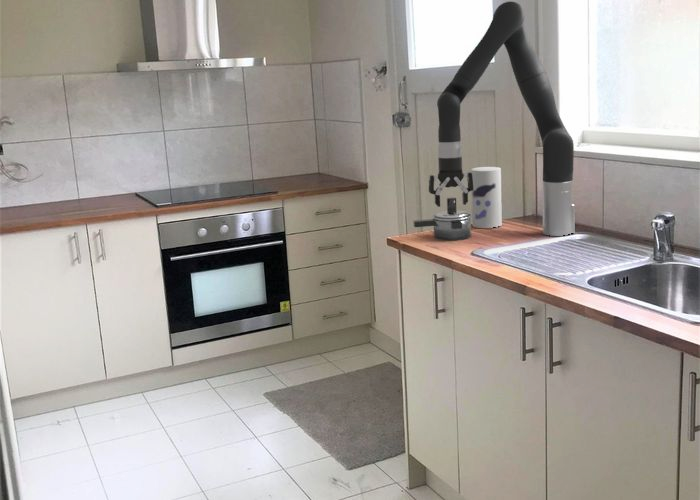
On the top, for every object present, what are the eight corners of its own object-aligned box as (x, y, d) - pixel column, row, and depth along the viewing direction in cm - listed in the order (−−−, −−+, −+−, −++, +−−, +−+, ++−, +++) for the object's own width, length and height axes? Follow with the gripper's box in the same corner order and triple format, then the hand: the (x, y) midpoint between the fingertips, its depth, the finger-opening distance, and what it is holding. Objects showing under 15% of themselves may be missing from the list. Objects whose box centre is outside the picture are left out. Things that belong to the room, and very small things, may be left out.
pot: (466, 231, 263) (466, 211, 261) (476, 240, 249) (476, 218, 247) (411, 235, 262) (410, 215, 260) (419, 244, 248) (418, 223, 246)
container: (472, 229, 266) (470, 170, 262) (472, 223, 276) (471, 166, 271) (502, 228, 264) (501, 169, 260) (501, 222, 274) (500, 165, 269)
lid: (464, 211, 260) (463, 194, 259) (471, 217, 250) (470, 199, 249) (433, 214, 260) (432, 196, 258) (439, 219, 249) (438, 201, 248)
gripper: (469, 153, 254) (470, 201, 258) (426, 155, 253) (427, 205, 257) (474, 155, 247) (475, 205, 251) (430, 158, 246) (432, 208, 250)
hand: (451, 205), depth 254 cm, fingers open, 8 cm apart
